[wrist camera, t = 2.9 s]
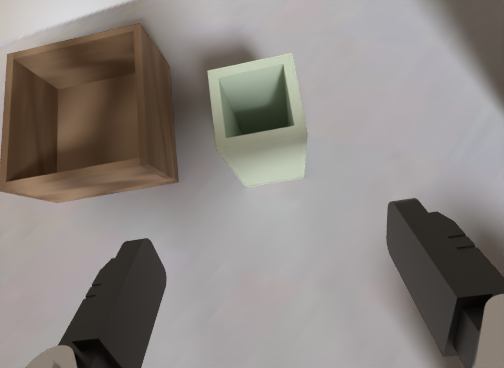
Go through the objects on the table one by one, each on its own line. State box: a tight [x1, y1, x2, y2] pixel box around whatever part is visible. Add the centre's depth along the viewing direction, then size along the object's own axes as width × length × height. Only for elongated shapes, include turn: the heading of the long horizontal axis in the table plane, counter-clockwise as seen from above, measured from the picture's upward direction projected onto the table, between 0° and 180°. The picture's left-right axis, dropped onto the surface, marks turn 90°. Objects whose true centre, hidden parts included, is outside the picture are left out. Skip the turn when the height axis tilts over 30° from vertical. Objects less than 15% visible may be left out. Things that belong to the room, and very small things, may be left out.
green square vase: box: [207, 53, 308, 187], centre depth 22 cm, size 5×5×10 cm
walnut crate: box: [0, 23, 178, 203], centre depth 27 cm, size 12×12×6 cm
